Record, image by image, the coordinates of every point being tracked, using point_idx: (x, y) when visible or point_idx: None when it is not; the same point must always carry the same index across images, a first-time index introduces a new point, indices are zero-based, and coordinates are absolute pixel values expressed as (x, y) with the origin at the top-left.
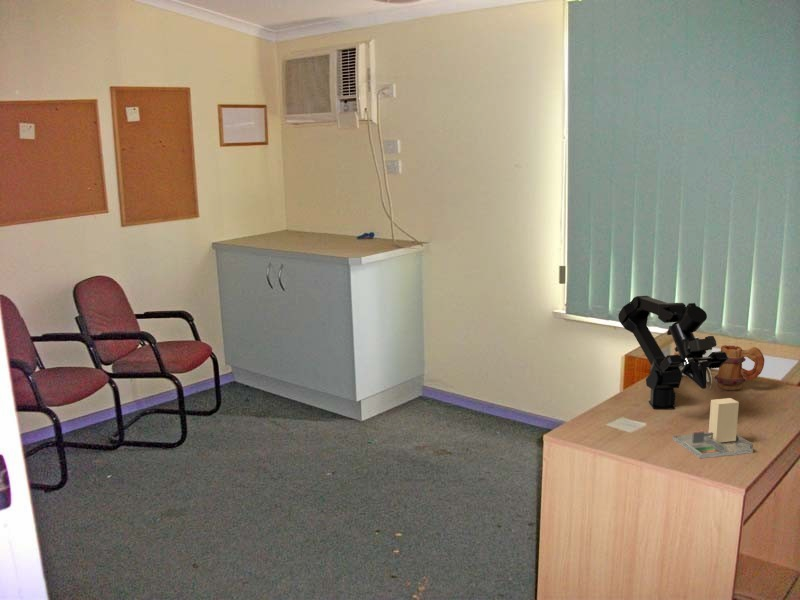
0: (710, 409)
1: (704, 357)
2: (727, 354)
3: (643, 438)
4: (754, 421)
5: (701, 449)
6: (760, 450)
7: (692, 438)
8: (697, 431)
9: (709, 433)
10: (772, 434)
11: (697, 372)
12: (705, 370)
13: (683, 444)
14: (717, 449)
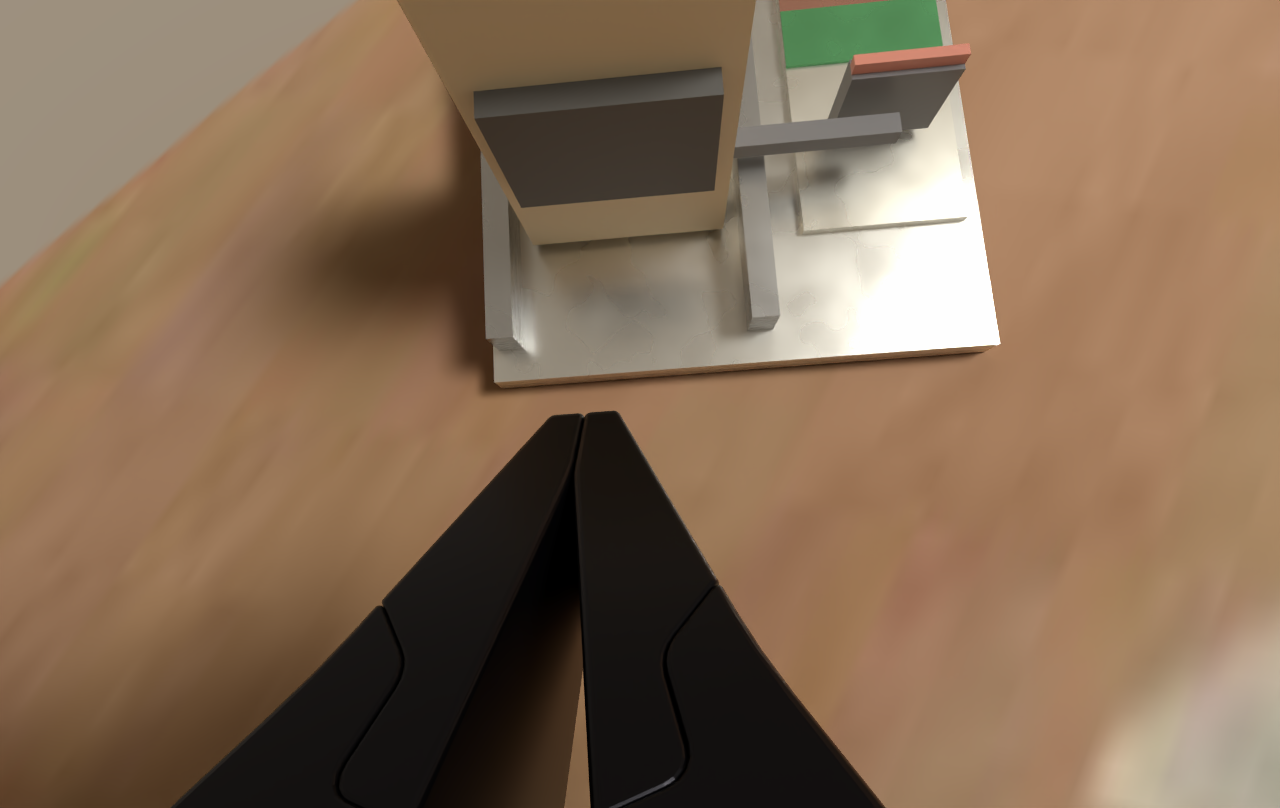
0: (748, 44)
1: None
2: None
3: (1246, 418)
4: (57, 623)
5: (900, 20)
6: (412, 65)
7: (942, 104)
8: (927, 48)
9: (760, 126)
10: (121, 325)
11: (704, 702)
12: (245, 791)
13: (969, 190)
14: (755, 39)
